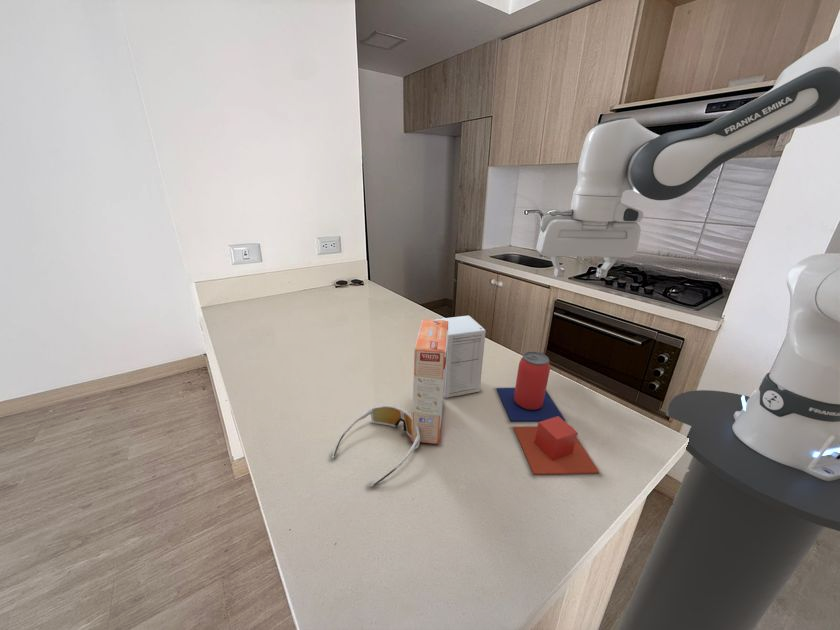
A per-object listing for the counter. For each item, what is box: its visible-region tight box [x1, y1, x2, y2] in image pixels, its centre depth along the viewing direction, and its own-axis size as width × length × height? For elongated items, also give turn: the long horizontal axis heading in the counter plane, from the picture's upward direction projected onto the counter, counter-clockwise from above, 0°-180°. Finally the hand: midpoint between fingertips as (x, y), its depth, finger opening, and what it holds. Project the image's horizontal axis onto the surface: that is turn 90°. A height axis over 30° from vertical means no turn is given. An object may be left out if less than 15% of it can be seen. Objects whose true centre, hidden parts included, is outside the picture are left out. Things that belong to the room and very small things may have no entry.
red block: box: [535, 416, 579, 460], centre depth 65 cm, size 5×5×5 cm
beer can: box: [514, 350, 551, 410], centre depth 77 cm, size 7×7×12 cm
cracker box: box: [410, 318, 448, 445], centre depth 69 cm, size 14×6×21 cm, turn 174°
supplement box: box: [434, 314, 487, 399], centre depth 82 cm, size 10×9×17 cm
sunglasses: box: [331, 404, 421, 488], centre depth 65 cm, size 14×15×5 cm
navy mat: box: [496, 387, 566, 423], centre depth 79 cm, size 12×12×1 cm
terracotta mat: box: [513, 426, 600, 476], centre depth 66 cm, size 12×12×1 cm
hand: (579, 276), depth 74 cm, fingers open, 8 cm apart
